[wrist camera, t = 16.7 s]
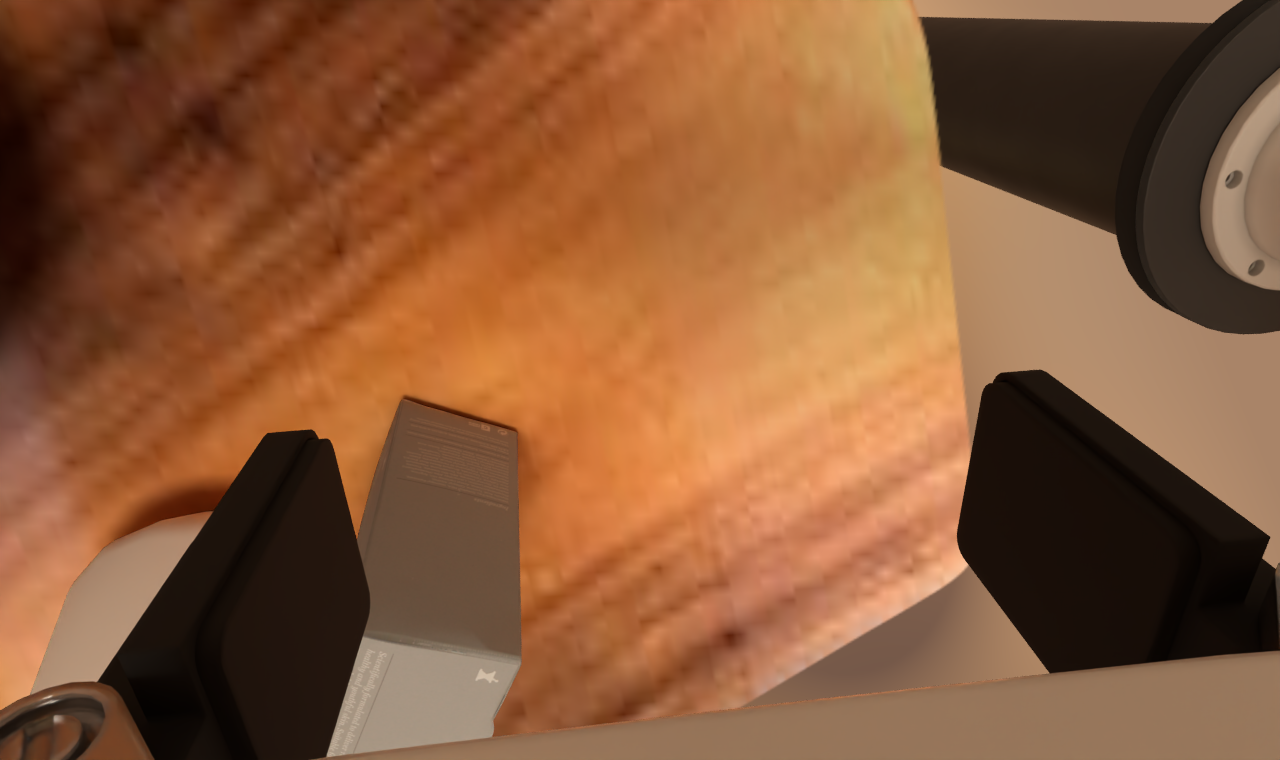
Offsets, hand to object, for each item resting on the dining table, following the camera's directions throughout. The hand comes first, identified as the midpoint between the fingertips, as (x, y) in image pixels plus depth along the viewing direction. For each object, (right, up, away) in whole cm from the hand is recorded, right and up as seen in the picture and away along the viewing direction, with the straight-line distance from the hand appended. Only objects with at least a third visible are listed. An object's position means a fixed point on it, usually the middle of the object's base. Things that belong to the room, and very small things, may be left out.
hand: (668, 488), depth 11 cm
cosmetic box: (-11, -4, +30) cm, 33 cm away
